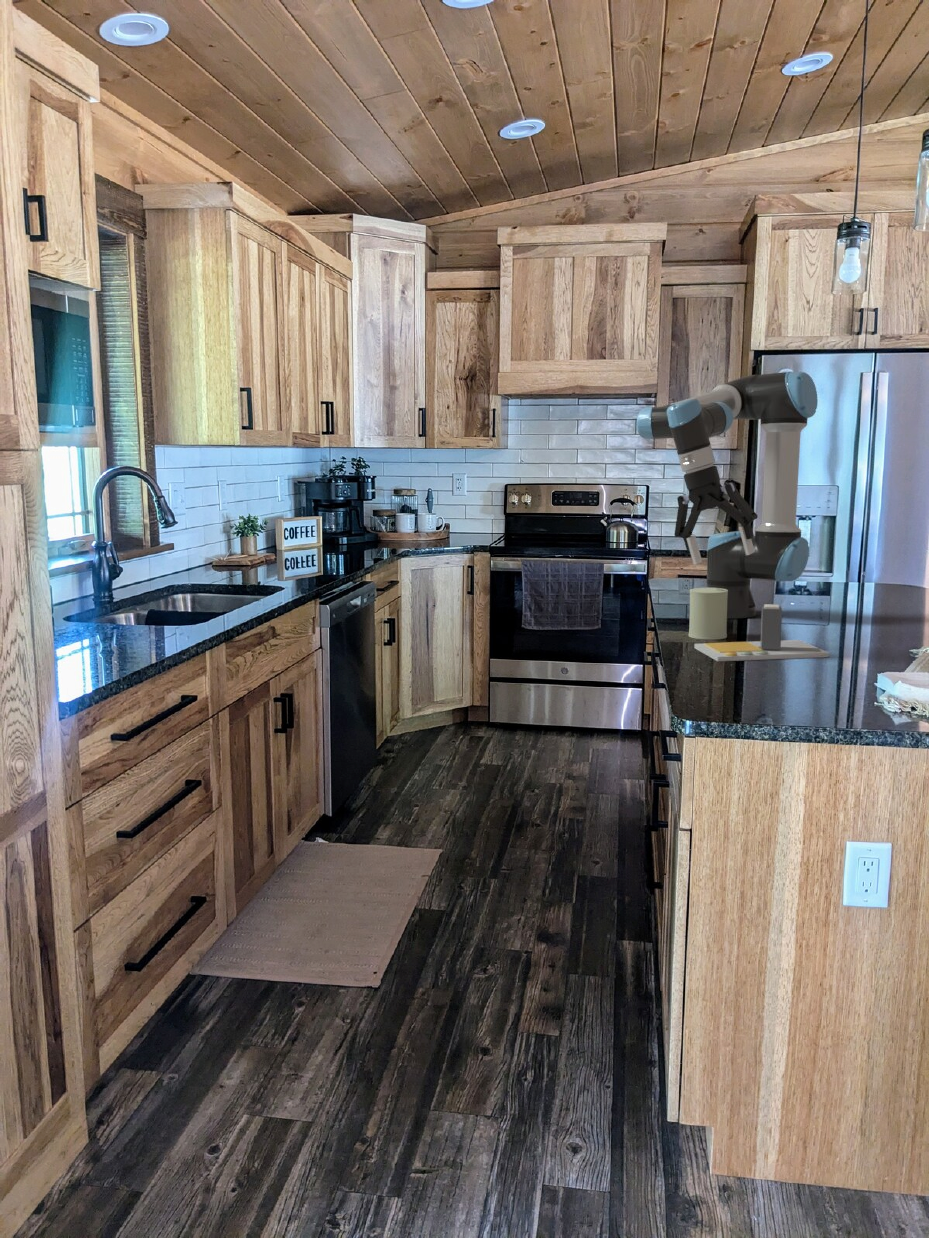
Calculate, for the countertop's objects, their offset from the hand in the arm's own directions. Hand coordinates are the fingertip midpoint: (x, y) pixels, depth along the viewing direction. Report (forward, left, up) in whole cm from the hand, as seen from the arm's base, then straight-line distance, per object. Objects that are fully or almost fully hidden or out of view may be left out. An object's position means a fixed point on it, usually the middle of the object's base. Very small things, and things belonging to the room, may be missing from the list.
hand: (723, 558), depth 216 cm
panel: (-6, +8, -21) cm, 23 cm away
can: (-1, -13, -21) cm, 25 cm away
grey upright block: (-8, +9, -19) cm, 23 cm away
